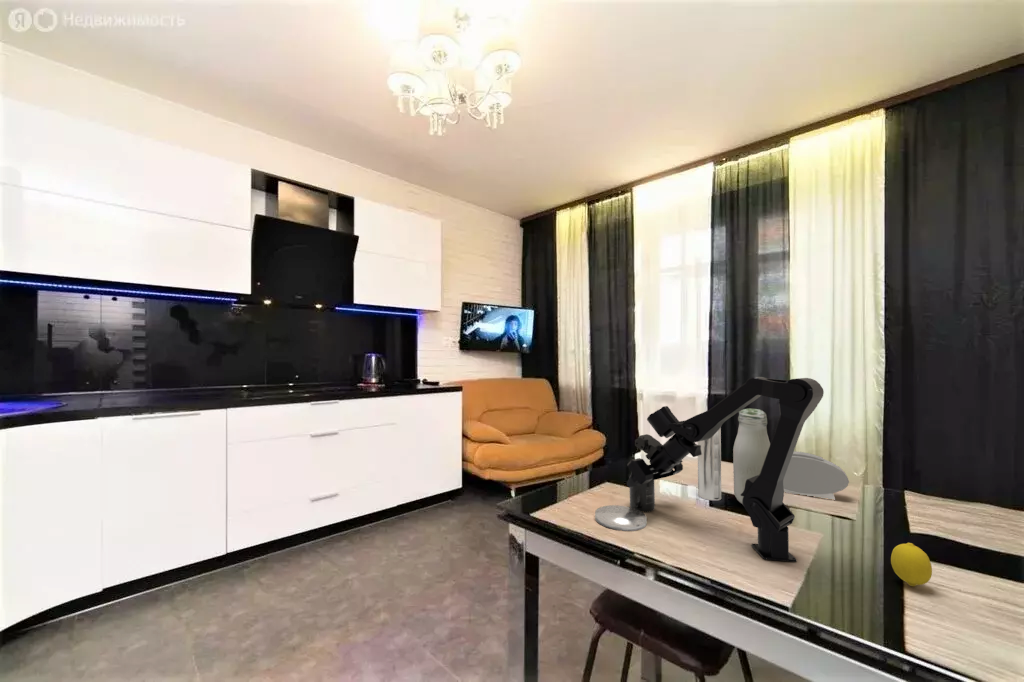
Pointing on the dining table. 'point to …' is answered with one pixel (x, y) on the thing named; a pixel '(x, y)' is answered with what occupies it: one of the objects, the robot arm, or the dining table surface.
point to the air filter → (710, 468)
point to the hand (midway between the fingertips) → (637, 482)
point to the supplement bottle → (643, 496)
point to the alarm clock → (813, 476)
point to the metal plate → (620, 518)
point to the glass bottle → (749, 448)
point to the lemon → (911, 564)
